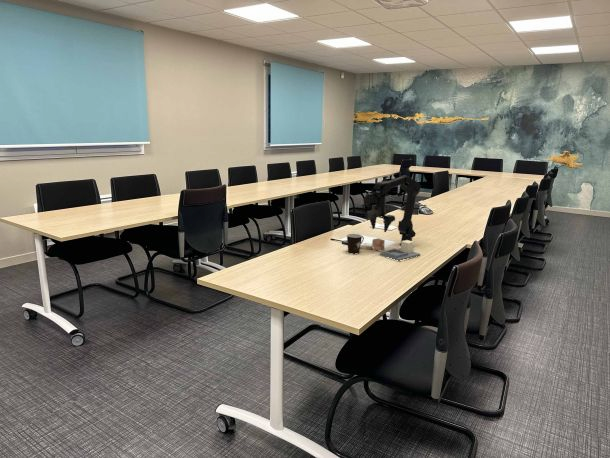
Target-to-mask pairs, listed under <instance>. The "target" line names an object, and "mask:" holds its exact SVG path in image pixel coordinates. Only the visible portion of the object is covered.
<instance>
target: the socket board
mask: <svg viewBox="0 0 610 458" xmlns="http://www.w3.org/2000/svg"><path fill="white" fill-rule="evenodd" d="M400 243H401V245H400V246H401V247H400V248H399V247H398V248H395V247H394V248H391V249H386V250H382V252H380V253H379V256H380V255H382V256H381V257H383V256H385V257H384V258H386V257H389V258H392V259H395V260H398V261H400V260H403V259H407V258H411V257H416V256H420V257H421V253H419V252H415V251H414V250H415V241H413V240H412V241H409V240H405V241H402V242H401V241H400ZM389 258H388V259H389ZM416 258H417V257H416ZM392 259H391V260H392ZM395 260H394V261H395ZM398 261H397V262H398ZM400 262H401V261H400Z"/></svg>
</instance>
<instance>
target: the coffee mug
mask: <svg viewBox="0 0 610 458" xmlns="http://www.w3.org/2000/svg"><path fill="white" fill-rule="evenodd" d="M364 239H365V237H364V236H363V235H362V234H358V233H348V234H347V235H346V240H347V252H349V253H348V254H350V253H353V254H352V255H356V254H355V253H358V254H360V250H361V245H362V244H363V242H364Z"/></svg>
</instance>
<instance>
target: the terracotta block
mask: <svg viewBox="0 0 610 458" xmlns="http://www.w3.org/2000/svg"><path fill="white" fill-rule="evenodd" d="M385 241H386V240H385V239H381V238H374V239H372V241H371V242H372V243H371V245H372V246H373V247H374V249H375V250H374V251H376V250H378V251H377V252H380V251H379V250H381V251H384V250H385ZM372 246H371V247H372ZM383 249H384V250H383Z"/></svg>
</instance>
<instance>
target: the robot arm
mask: <svg viewBox="0 0 610 458" xmlns="http://www.w3.org/2000/svg"><path fill="white" fill-rule="evenodd" d="M401 185H403V186H405V192H406V201H405V207H404V211H403V217H402V219H401V220H399V221H398V225H397V229H398V232H399V235H401V238H400V239H401V241H400V243H399V244H400V245H399V246H401V242H402V241H405V240H409V241H413V237H416V231H414V229H413V228H414V227H413V220H412V219H413V218H412V217H413V213H414V207H415V202H416V197H417V196H418V195H419V194H420V191H421V187H422V184H421V183H420V182H419V181H416V180H414V179H413V178H411V177H410V176H408V175H400V176H399V177H396V178H393V179H391V180H386V181H377V182H376V183H375V184H374V186H373V188H372V190H371V191H370V193H366V194H365V196H364V198H363V204H364V206H365V207H371V206H373V208H372V209H370V210H368V211H366V212H365V215H364V216H365V217H366V218H367V220H369V221H370V225H371V227H372V228H371V229H372V230H374V229H375V228H376V224H377V223H376V222H377V218H380V219H383V220H382V222H383V228H384V229H383V231H384V232H383V233H387V231H388V229H389V227H390V226H391V224H392V223H393V222H395V221H396V216H395V215H393V214H392V215H391V214H387V212H386V209H387V207H388V206H387V205H386V201H387V200H386V198H387V197H389V194H388V192H389V191H390V190H391V189H393V188H396V187H398V186H399V187H400V186H401Z"/></svg>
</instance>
